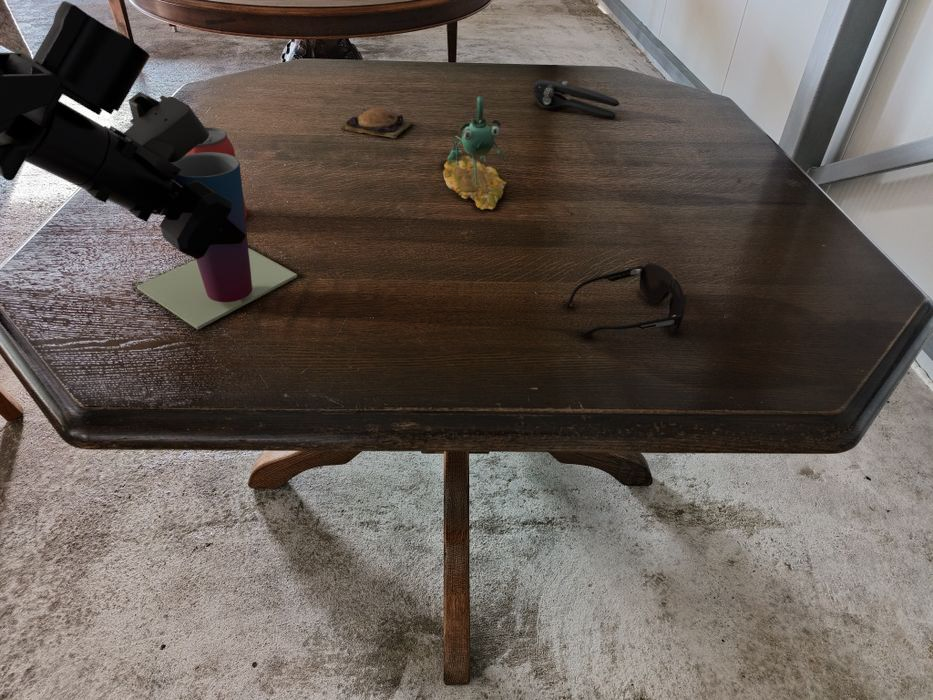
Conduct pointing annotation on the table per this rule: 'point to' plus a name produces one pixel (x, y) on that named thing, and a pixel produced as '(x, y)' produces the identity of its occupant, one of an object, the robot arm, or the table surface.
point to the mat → (189, 296)
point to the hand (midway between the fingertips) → (228, 228)
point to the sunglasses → (649, 295)
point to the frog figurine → (475, 163)
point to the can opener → (551, 99)
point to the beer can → (216, 146)
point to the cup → (228, 262)
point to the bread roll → (378, 123)
